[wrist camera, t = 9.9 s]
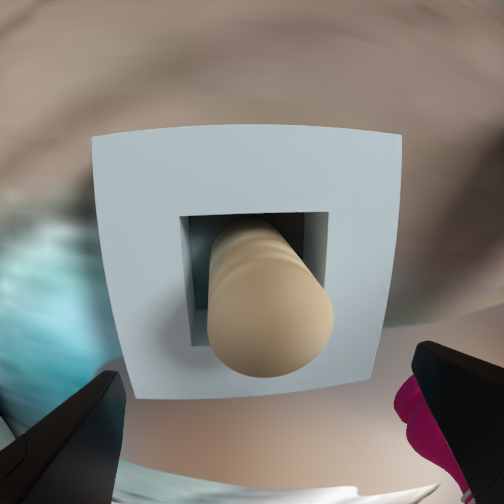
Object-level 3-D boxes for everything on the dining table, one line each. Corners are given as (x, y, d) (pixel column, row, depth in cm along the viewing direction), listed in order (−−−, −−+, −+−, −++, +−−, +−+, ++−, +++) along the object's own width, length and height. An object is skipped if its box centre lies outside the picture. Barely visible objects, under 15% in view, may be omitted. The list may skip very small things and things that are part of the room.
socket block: (365, 136, 17) (401, 135, 13) (347, 345, 21) (370, 379, 17) (118, 140, 15) (91, 136, 11) (146, 358, 19) (135, 398, 16)
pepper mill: (430, 411, 25) (520, 544, 7) (376, 420, 24) (464, 587, 5) (461, 355, 23) (582, 490, 4) (408, 360, 22) (541, 540, 3)
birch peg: (286, 216, 18) (339, 265, 10) (285, 288, 19) (326, 370, 11) (208, 219, 17) (202, 272, 10) (212, 292, 18) (212, 381, 11)
